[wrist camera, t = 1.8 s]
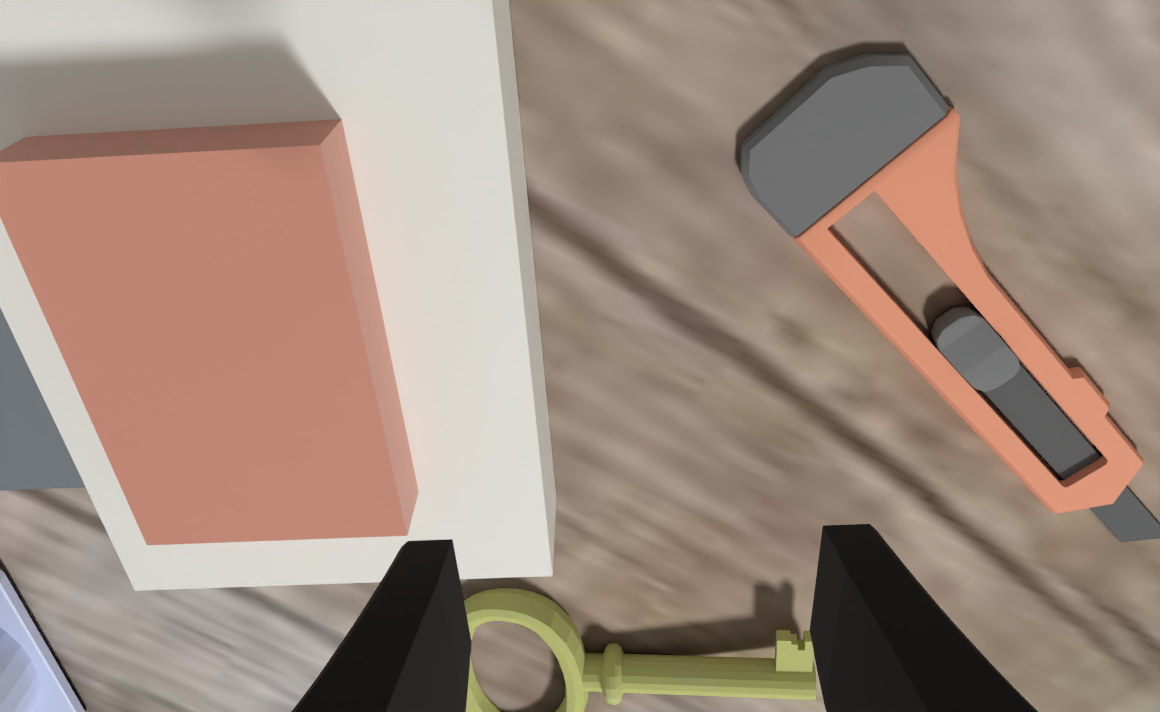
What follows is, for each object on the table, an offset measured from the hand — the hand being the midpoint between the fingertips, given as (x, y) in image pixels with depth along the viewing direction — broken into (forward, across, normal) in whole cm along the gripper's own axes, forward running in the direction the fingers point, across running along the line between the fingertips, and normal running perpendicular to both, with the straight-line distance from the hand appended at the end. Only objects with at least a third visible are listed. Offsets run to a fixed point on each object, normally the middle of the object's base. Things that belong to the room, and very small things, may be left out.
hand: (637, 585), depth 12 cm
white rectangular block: (+10, +8, 0) cm, 13 cm away
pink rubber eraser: (+7, +8, 0) cm, 11 cm away
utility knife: (+11, -10, +3) cm, 15 cm away
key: (+11, +1, +15) cm, 18 cm away
